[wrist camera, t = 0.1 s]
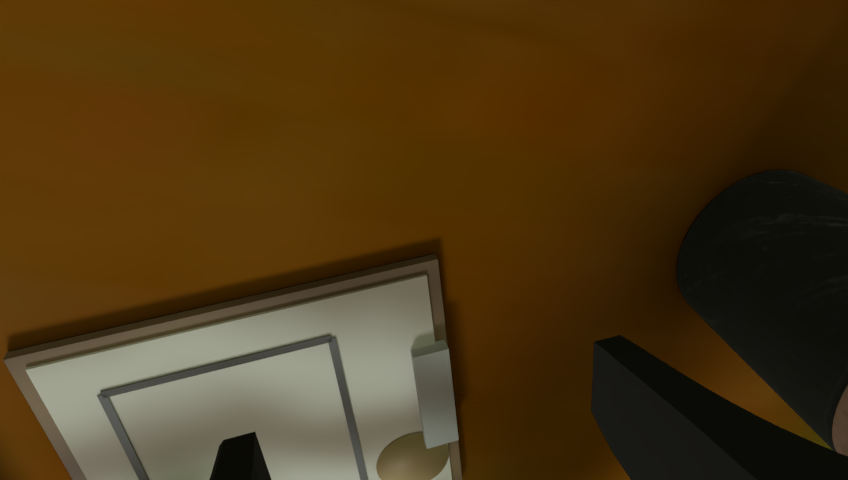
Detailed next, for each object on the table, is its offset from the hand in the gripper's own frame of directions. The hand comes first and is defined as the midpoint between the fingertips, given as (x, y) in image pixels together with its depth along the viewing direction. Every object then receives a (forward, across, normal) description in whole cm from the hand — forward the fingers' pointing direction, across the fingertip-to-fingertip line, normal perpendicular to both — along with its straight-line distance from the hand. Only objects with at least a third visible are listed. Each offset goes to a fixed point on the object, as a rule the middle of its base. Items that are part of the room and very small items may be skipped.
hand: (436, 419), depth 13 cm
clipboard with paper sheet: (+10, +5, +9) cm, 14 cm away
